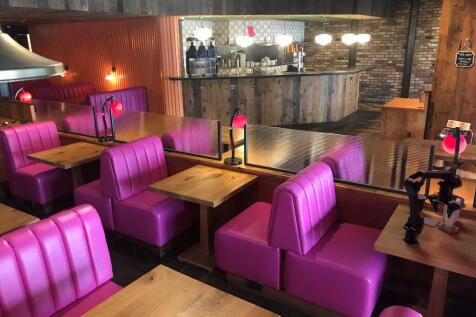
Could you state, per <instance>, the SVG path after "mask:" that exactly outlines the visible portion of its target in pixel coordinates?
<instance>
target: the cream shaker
mask: <svg viewBox="0 0 476 317" xmlns="http://www.w3.org/2000/svg"><path fill="white" fill-rule="evenodd" d="M454 217H455V215H454V214H452V215H451V217H450V218H449V219H448V217H447V214H446V220H444V223H445V225H444V227H445V228H447V229H452V228H453V225H454V223H455V222H454Z"/></svg>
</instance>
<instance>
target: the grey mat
mask: <svg viewBox="0 0 476 317" xmlns="http://www.w3.org/2000/svg"><path fill="white" fill-rule="evenodd" d="M423 217H424V223H425V224H424V226H428V227H432V228H436V226H438V224H440V220H439V219H434V218H431V217H427V216H423Z"/></svg>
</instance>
